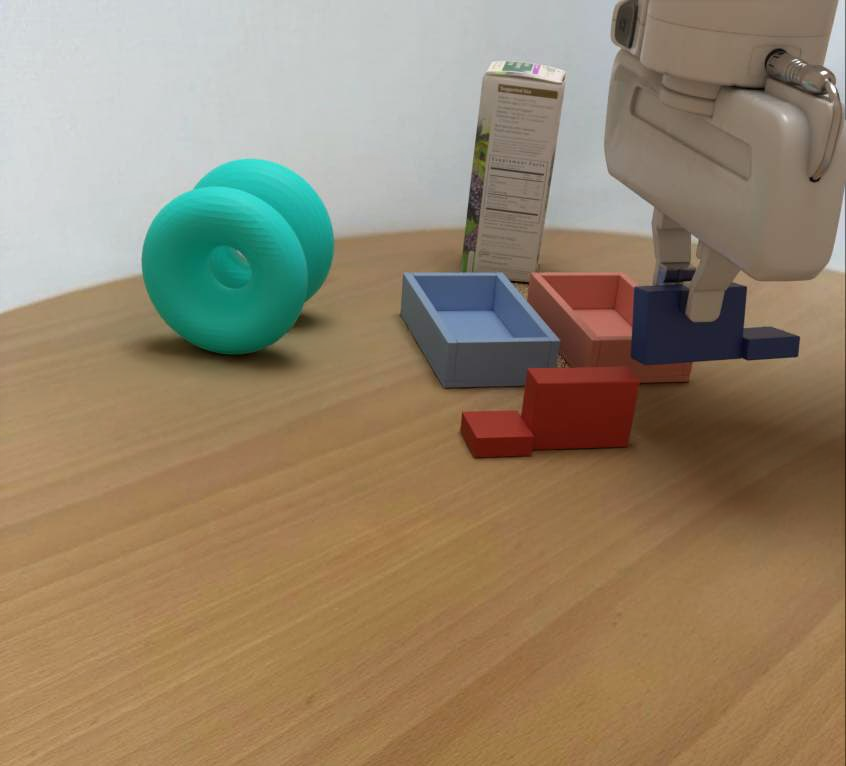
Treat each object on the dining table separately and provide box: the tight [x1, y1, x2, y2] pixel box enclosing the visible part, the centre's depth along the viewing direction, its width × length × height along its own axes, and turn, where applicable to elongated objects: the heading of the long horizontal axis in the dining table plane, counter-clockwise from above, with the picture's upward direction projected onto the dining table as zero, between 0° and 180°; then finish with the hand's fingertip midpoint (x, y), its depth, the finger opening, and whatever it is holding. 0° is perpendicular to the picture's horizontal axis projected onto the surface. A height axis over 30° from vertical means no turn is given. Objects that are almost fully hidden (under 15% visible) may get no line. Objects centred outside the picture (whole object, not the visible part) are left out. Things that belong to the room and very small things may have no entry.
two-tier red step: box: [459, 367, 641, 458], centre depth 63 cm, size 9×3×4 cm, turn 102°
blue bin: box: [399, 272, 560, 389], centre depth 74 cm, size 7×12×3 cm, turn 13°
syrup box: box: [459, 60, 568, 283], centre depth 85 cm, size 6×6×14 cm
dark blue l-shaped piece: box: [631, 281, 801, 365], centre depth 64 cm, size 9×3×4 cm, turn 104°
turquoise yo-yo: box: [141, 158, 335, 356], centre depth 71 cm, size 10×10×10 cm
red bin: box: [526, 271, 694, 384], centre depth 76 cm, size 7×12×3 cm, turn 13°
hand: (683, 305), depth 64 cm, fingers closed on dark blue l-shaped piece, 2 cm apart
